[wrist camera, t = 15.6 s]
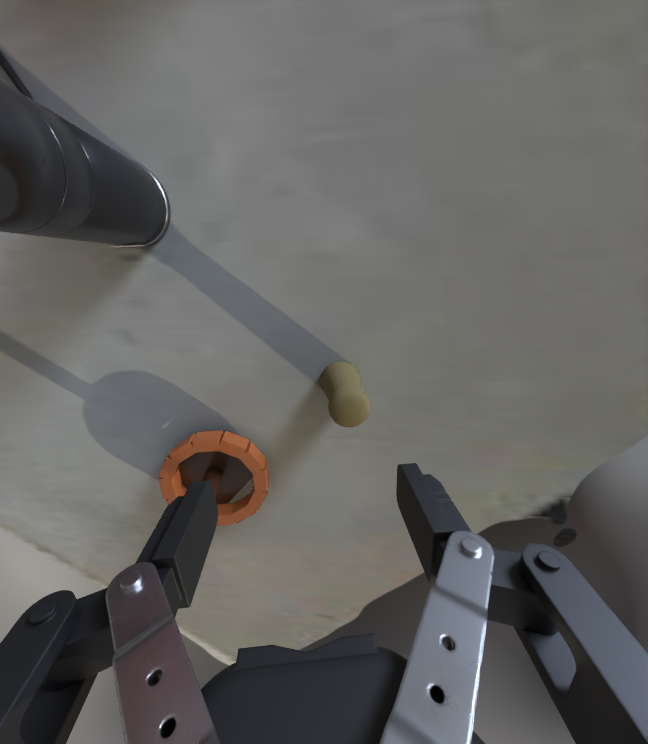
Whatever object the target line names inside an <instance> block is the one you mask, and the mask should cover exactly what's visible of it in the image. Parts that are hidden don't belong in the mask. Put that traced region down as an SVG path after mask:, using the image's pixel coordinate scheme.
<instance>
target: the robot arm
mask: <svg viewBox="0 0 648 744" xmlns="http://www.w3.org/2000/svg"><path fill="white" fill-rule="evenodd" d="M0 65H1V66H2V68H3V69H4V70H5V72H6V73H7V74H8V76H9V77H10V79H11V80H12V82H13V83H14V84H15V86H16V87H17V89H18V90H19V91H17V90H16V89H14V88H12V87H11V86H9V85H7V84H6V83H4V82H3V81H1V80H0V232H9V233H17V234H26V235H35V236H45V237H54V238H63V239H71V240H80V241H89V242H98V243H106V244H115V245H122V246H111V247H134V248H142V247H147V246H150V245H153V244H154V243H156V242H157V241H159V240H160V239H161V238H162V237H163V235H164V234H165V232H166V231H167V228H168V226H169V222H170V204H169V200H168V197H167V194H166V192H165V190H164V188H163V186H162V185H161V183H160V182H159V181H158V179H157V178H156V177H155V176H154V175H153V174H152V173H151V172H150V171H148V170H147V169H146V168H144V167H143V166H141V165H139V164H138V163H136V162H134V161H131V160H130V159H128V158H126V157H125V156H123V155H122V154H120V153H119V152H117V151H115V150H114V149H112V148H110V147H109V146H107V145H106V144H104V143H102V142H101V141H99V140H97V139H96V138H94V137H93V136H91V135H89V134H88V133H86V132H84V131H83V130H81V129H80V128H78V127H76V126H75V125H73V124H71V123H70V122H68V121H67V120H65V119H63V118H62V117H60V116H58V115H57V114H55V113H54V112H52V111H50V110H49V109H47V108H45V107H43V106H42V105H40V104H38V103H37V102H35V101H34V100H33V99H32V97H31V95H30V94H29V92H28V91H27V89H26V88H25V86H24V85H23V83H22V82H21V80H20V79H19V77H18V76H17V75H16V73H15V72H14V70H13V69H12V67H11V66H10V65H9V63H8V62H7V61H6V59H5V58H4V56H3V55H2V54H1V52H0ZM397 502H398V506H399V509H400V512H401V514H402V517H403V519H404V522H405V524H406V527H407V529H408V532H409V534H410V537H411V539H412V542H413V544H414V547H415V549H416V552H417V554H418V557H419V559H420V562H421V564H422V567H423V569H424V572H425V574H426V576H427V579H428V582H429V583H431V582H435V585H432V587H431V589H430V592H429V595H428V598H427V602H426V605H425V608H424V611H423V614H422V617H421V621H420V624H419V627H418V630H417V633H416V637H415V640H414V643H413V646H412V649H411V653H410V656H409V659H408V660H407V659H405V658H403V657H402V656H401V655H399V654H397V653H396V652H394V651H392V650H389V649H387V648H383V647H379V646H377V645H376V640H375V635H374V633H373V634H364V635H356V636H346V637H341V638H338V639H336V640H334V641H331V642H329V643H327V644H325V645H322V646H320V647H318V648H316V649H314V650H311V651H308V652H304V651H299V650H294V649H290V648H285V647H280V646H275V645H267V646H258V647H250V648H241V649H238V655H237V661H236V663H234V664H232V665H230V666H229V667H227V668H225V669H224V670H222V671H221V672H219V673H218V674H217V675H215V676H214V677H213V678H212V679H211V680H210V681H209V682H208V683H207V684H206V685H205V686H204V687H203V688H202V689H200V686H199V684H198V681H197V678H196V675H195V673H194V670H193V667H192V664H191V662H190V659H189V656H188V653H187V651H186V648H185V645H184V642H183V640H182V637H181V634H180V632H179V629H178V626H177V623H176V621H175V616H176V613H177V610H178V608H187V607H190V605H191V602H192V599H193V596H194V593H195V590H196V587H197V584H198V581H199V578H200V575H201V572H202V569H203V566H204V563H205V559H206V556H207V553H208V550H209V547H210V544H211V541H212V538H213V535H214V532H215V529H216V526H217V522H218V507H217V502H216V498H215V493H214V489H213V484H212V482H211V481H200V482H192V483H191V484H190V485H189V487H188V489H187V491H186V493H185V495H184V496H178V497H177V498H176V499H174V500H173V501H172V502H171V503H170V504H169V505H168V506H167V508H166V510H165V511H164V513H163V515H162V517H161V519H160V520H159V522H158V524H157V526H156V529H154V531H153V533H152V535H151V536H150V538H149V540H148V542H147V544H146V545H145V547H144V549H143V551H142V553H141V554H140V556H139V558H138V560H137V561H136V563H135V564H134V565H132V566H130V567H128V568H126V569H124V570H123V571H122V572H120V573H119V574H118V575H117V576H116V577H115V578H114V579H113V580H112V582H111V583H110V585H109V586H108V588H106V589H103V590H101V591H98V592H95V593H93V594H90V595H87V596H85V597H82V598H79V599H76V597H75V595H74V593H73V592H71V591H68V590H62V591H57V592H54V593H52V594H50V595H48V596H46V597H44V598H42V599H41V600H39V601H37V602H36V603H35V604H33V605H32V606H31V607H30V608H29V609H28V610H26V611H25V613H23V615H22V616H21V617H20V618H19V620H18V621H17V622H16V623H15V625H14V626H13V627H12V629H11V630H10V632H9V633H8V634H7V636H6V637H5V638H4V639H3V641H2V642H1V643H0V744H66V742H67V740H68V738H69V735H70V733H71V731H72V729H73V727H74V724H75V722H76V720H77V718H78V716H79V714H80V711H81V709H82V707H83V705H84V703H85V700H86V698H87V696H88V694H89V691H90V689H91V687H92V685H93V683H94V680H95V678H96V676H97V674H98V672H100V671H103V670H105V669H107V668H108V667H111V666H113V672H114V678H115V685H116V691H117V697H118V703H119V710H120V716H121V722H122V729H123V735H124V740H125V744H485V743H484V742H483V741H482V740H481V739H480V738H479V736H478V735H477V734H476V733H475V732H474V731H473V723H474V716H475V708H476V701H477V693H478V686H479V678H480V669H481V663H482V655H483V648H484V639H485V632H486V624H487V620H491V621H495V622H499V623H503V624H507V625H511V626H514V628H515V630H516V632H517V634H518V636H519V637H520V639H521V641H522V643H523V645H524V647H525V649H526V651H527V653H528V654H529V656H530V658H531V660H532V662H533V664H534V666H535V668H536V669H537V671H538V673H539V675H540V677H541V679H542V681H543V683H544V685H545V686H546V688H547V690H548V692H549V694H550V696H551V698H552V700H553V702H554V703H555V705H556V707H557V709H558V711H559V713H560V715H561V717H562V719H563V720H564V722H565V724H566V726H567V728H568V730H569V732H570V734H571V736H572V737H573V739H574V741H575V743H576V744H648V654H647V652H645V650H644V649H643V648H642V646H641V645H640V644H639V643H638V642H637V640H636V639H635V638H634V637H633V636H632V634H631V633H630V632H629V631H628V630H627V629H626V627H625V626H624V625H623V624H622V623H621V621H620V620H619V619H618V618H617V617H616V615H615V614H614V613H613V612H612V611H611V609H610V608H609V607H608V606H607V605H606V604H605V602H604V601H603V600H602V599H601V597H600V596H599V595H598V594H597V593H596V591H595V590H594V589H593V588H592V587H591V585H589V583H588V582H587V581H586V580H585V578H584V577H583V576H582V575H581V574H580V572H579V571H578V570H577V569H576V568H575V567H574V565H573V564H572V563H571V562H570V561H569V560H568V559H567V558H566V557H565V556H564V555H563V554H561V553H560V552H559V551H557V550H555V549H553V548H551V547H549V546H546V545H542V544H537V543H533V544H528V545H526V546H525V547H524V548H523V550H522V553H521V554H520V553H515V552H510V551H504V550H500V549H496V548H493V547H491V545H490V544H489V543H488V542H487V541H486V540H485V539H484V538H483V537H481V536H479V535H478V534H475V533H473V532H471V530H470V529H469V527H468V525H467V524H466V522H465V521H464V519H463V517H462V516H461V514H460V513H459V511H458V510H457V508H456V506H455V505H454V503H453V502H452V501H451V499H450V497H449V495H448V494H446V491H445V489H444V488H443V486H442V484H441V483H440V482H439V481H438V480H437V479H435V478H434V477H433V476H432V475H430V474H427V475H423V474H422V472H421V470H420V469H419V467H418V465H417V464H416V463H411V464H399V465H398V468H397Z"/></svg>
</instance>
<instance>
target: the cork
mask: <svg viewBox="0 0 648 744" xmlns="http://www.w3.org/2000/svg"><path fill="white" fill-rule="evenodd" d="M321 385H322V388H323V390H324V392H325V393H326V395H327V397H328V399H329V405H328V409H329V413H330V416H331V417H332V419H333V420H334V421H335V422H336V423H337V424H339V425H340V426H343V427H355V426H358V425H360V424H361V423H363V422H364V421H365V420H366V419H367V417H368V415H369V413H370V401H369V398H368V396H367V395H366V393H365V392H364V391H362V389H361V382H360V376H359V372H358V370H357V369H356V367H355V366H353V365H352V364H351V363H348V362H345V361H338V362H334V363H332V364H330V365H329V366H327V367H326V369H325V370H324V371H323V373H322V376H321Z"/></svg>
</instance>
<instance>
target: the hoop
mask: <svg viewBox="0 0 648 744" xmlns="http://www.w3.org/2000/svg"><path fill="white" fill-rule="evenodd" d="M248 442H249V439H246V438H244V437H241V436H238V435H236V434H233V433H231V432H228V431H225V433H224V435H223V430H218V431H204V432H197V434H195V433H194V434H192V435H190V436H189V437H187V438H186V439H184V440H183V441H181V442H179V443H178V444H176V445H175V446H174V447H173V449H172V450H171V451H170V453H169V454H168V456H167V457H166V459H165V462H164V464H163V466H162V469H161V471H160V474H159V476H158V477H159V479H158V480H159V484H160V488H161V491H162V495H163V498H164V499H167V500H166V503H167V504H168V505H169V504H170V503H171V502H172V501H173V500H174V499H176V498H177V497H178V496H184V495H185V493H186V491H187V489H186V488H185V487H184V486H183V485H182V481H181V477H180V473H179V467H180V465H181V462H182V461H184V460H185V459H187V458H188V457H190V456H192V455H193V454H195V453H197V452H211V451H220V452H223V453H225V454H228V455H231V456H233V457H236V458H239V459H240V460H241V461H242V462H243V463H244V464H245V465H246V467H247V468H248V469H249V470H250V471H251V472H252V474H253V480H254V487H253V489H252V490H251V492H250V494H249V495H247V496H245V497H244V498H242V499H240V500H239V501H237V502H235V503H228V504H217V507H218V522H217V526H218V525H230V524H234V523H235V522H237V523H238V522H240V521H242V520H244V519H245V518H247V517H249V516H250V515H252V514H254V513H256V510H259V508H260V506H261V504H262V502H263V501H264V499H265V497H266V495H267V493H268V488H269V481H270V478H269V470H268V463H267V461H265V460H266V458H265V456H264V455H263V454H262V453H261V452H260V451H259V450H258V448H257V447H256V446H255V445H254V444H253V443H252V442H250V443H248Z"/></svg>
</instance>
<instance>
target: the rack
mask: <svg viewBox="0 0 648 744" xmlns="http://www.w3.org/2000/svg"><path fill="white" fill-rule="evenodd" d="M179 473H180V477H181V481H182V485H183V486H184V487H185V488H187V489H188V487H189V485H190V484H191V483H192V482H200V481H211V482H212V484H213V489H214V493H215V498H216V502H217V504H227V503H228V502H229V501H230V500H231V499H232V498H233V497H234V496H235V495H236V493H237V492H238V491H239V490H240V489H241V488H242V487H243V486H244V485H245V484H246V483H247V482H248V481H249V480H250V479H251V478H252V477H253V474H252V472H251V471H250V470H249V469H248V468H247V467H246V465H245V464H244V463H243V462H242V461H241V460H240V459H239V458H236V457H233V456H231V455H228V454H225V453H223V452H220V451H211V452H197V453H195V454H193V455H192V456H190V457H188V458H187V459H185V460H184V461H183V462H182V463H181V465H180V467H179Z"/></svg>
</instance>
